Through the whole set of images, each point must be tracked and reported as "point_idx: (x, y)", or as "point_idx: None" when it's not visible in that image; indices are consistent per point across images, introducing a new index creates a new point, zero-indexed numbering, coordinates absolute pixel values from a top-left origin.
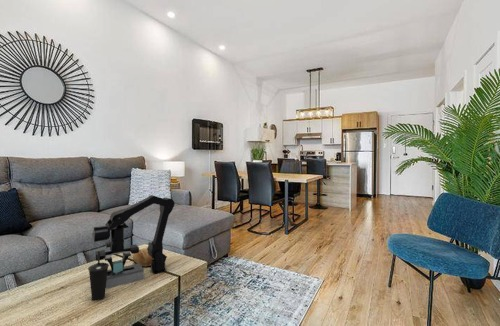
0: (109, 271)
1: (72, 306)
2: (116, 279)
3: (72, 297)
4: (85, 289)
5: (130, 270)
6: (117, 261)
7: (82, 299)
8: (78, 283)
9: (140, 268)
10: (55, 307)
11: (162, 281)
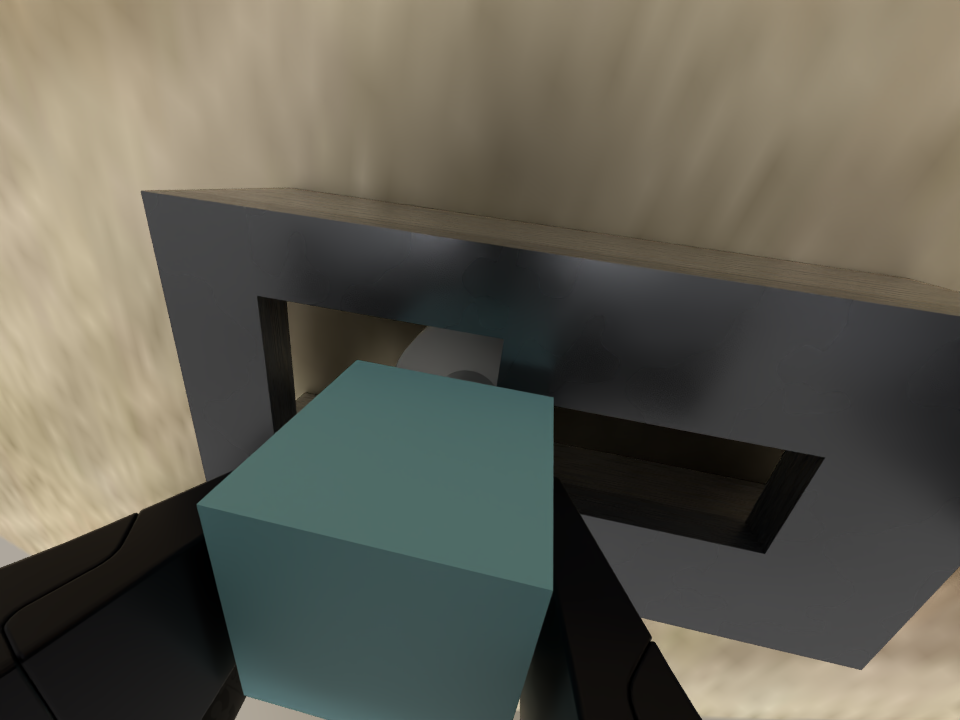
0: (324, 303)
1: (118, 509)
2: None
3: (71, 377)
4: (146, 292)
5: (663, 554)
6: (377, 606)
7: (163, 468)
8: (4, 5)
9: (858, 609)
10: (5, 443)
11: (866, 678)
